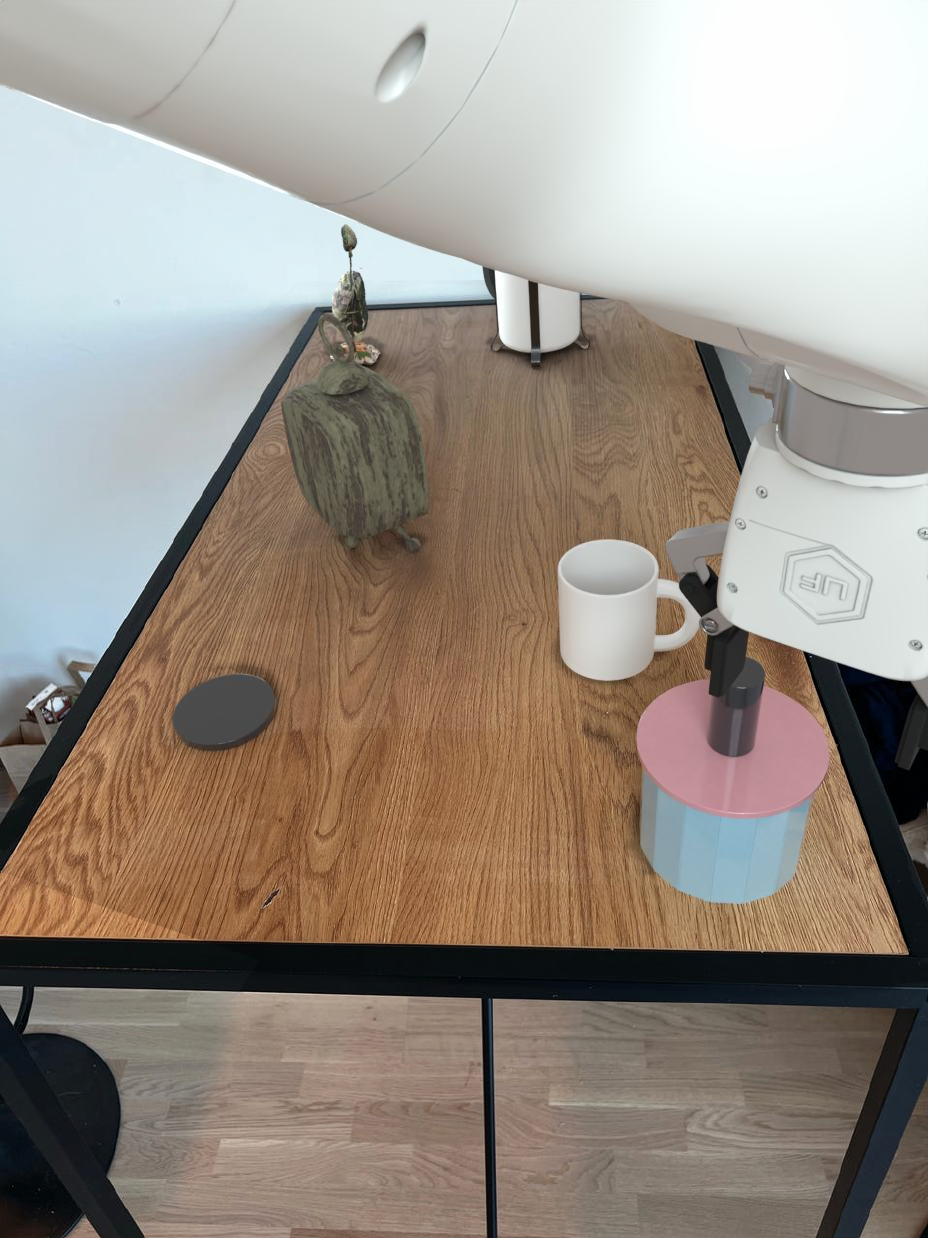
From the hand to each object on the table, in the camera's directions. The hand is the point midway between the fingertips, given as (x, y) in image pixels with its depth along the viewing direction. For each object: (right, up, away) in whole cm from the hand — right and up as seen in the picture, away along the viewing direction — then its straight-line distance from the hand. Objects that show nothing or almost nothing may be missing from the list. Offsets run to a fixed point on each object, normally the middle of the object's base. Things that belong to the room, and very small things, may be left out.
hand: (813, 714), depth 49 cm
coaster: (-39, -3, +34) cm, 52 cm away
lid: (-1, -3, +12) cm, 12 cm away
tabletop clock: (-29, +14, +54) cm, 63 cm away
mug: (-4, +1, +35) cm, 35 cm away
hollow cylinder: (0, -11, +18) cm, 22 cm away
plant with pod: (-35, +45, +96) cm, 111 cm away
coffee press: (-8, +46, +92) cm, 103 cm away
